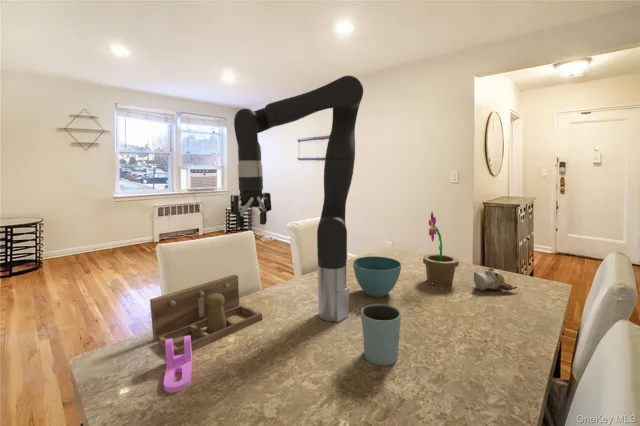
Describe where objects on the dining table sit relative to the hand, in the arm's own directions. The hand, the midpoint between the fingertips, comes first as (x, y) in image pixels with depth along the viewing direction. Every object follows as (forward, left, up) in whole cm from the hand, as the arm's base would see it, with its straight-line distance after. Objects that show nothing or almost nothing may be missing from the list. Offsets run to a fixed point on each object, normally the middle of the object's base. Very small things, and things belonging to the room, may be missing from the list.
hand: (252, 226), depth 104 cm
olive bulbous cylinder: (+1, +14, -30) cm, 33 cm away
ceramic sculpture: (-54, -75, -30) cm, 97 cm away
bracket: (-12, +32, -30) cm, 46 cm away
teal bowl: (-21, -42, -30) cm, 56 cm away
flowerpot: (-35, -70, -30) cm, 84 cm away
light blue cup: (-44, -6, -30) cm, 54 cm away
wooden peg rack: (+3, +15, -30) cm, 34 cm away
